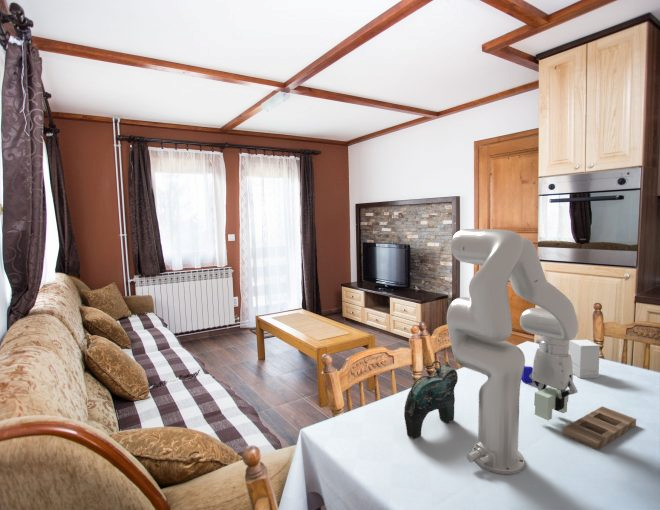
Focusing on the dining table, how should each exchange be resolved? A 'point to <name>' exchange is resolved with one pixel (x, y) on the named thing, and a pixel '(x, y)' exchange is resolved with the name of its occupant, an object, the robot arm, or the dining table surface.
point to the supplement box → (584, 358)
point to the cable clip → (527, 374)
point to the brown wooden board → (599, 427)
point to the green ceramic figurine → (430, 398)
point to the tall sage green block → (547, 402)
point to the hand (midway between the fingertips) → (551, 405)
